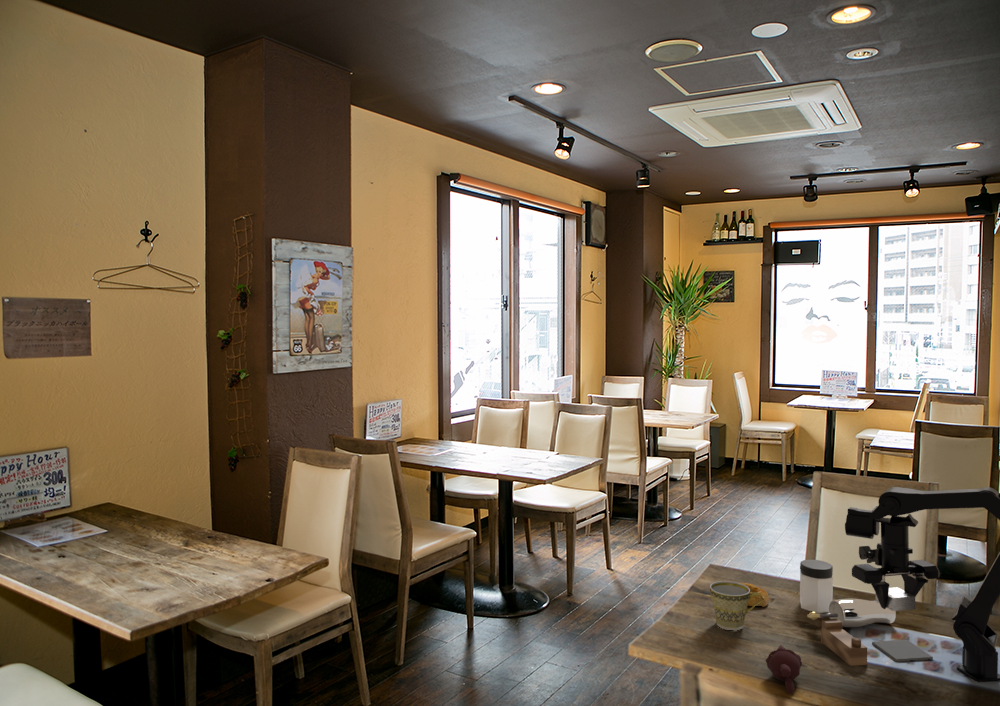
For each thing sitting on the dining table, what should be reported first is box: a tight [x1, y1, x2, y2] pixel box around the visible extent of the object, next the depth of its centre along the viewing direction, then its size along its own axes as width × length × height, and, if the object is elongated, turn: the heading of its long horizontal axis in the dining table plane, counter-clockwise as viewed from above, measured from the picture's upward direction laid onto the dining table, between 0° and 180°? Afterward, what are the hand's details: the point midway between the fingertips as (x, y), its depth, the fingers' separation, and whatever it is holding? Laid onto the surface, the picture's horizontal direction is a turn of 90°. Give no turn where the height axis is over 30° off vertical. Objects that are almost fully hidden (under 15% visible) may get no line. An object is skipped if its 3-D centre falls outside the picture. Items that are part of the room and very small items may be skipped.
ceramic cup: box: [709, 580, 762, 631], centre depth 182 cm, size 13×10×10 cm
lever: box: [806, 611, 838, 621], centre depth 177 cm, size 9×4×2 cm, turn 5°
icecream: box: [765, 644, 803, 695], centre depth 156 cm, size 7×7×15 cm
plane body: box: [821, 618, 868, 667], centre depth 167 cm, size 12×4×6 cm, turn 6°
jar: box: [799, 559, 834, 614], centre depth 194 cm, size 9×8×12 cm
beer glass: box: [827, 598, 897, 628], centre depth 183 cm, size 7×7×15 cm
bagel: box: [739, 582, 770, 608], centre depth 199 cm, size 10×11×5 cm
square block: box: [874, 586, 916, 612], centre depth 167 cm, size 6×6×3 cm
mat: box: [871, 639, 934, 663], centre depth 168 cm, size 9×9×1 cm
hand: (895, 607), depth 167 cm, fingers closed on square block, 6 cm apart
